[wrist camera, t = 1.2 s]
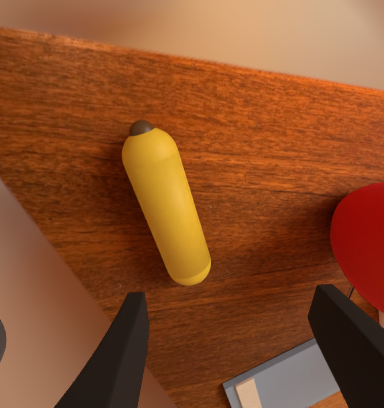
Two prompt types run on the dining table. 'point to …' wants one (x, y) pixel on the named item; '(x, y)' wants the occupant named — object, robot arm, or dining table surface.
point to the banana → (166, 202)
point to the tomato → (361, 241)
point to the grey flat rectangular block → (284, 381)
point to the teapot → (381, 318)
